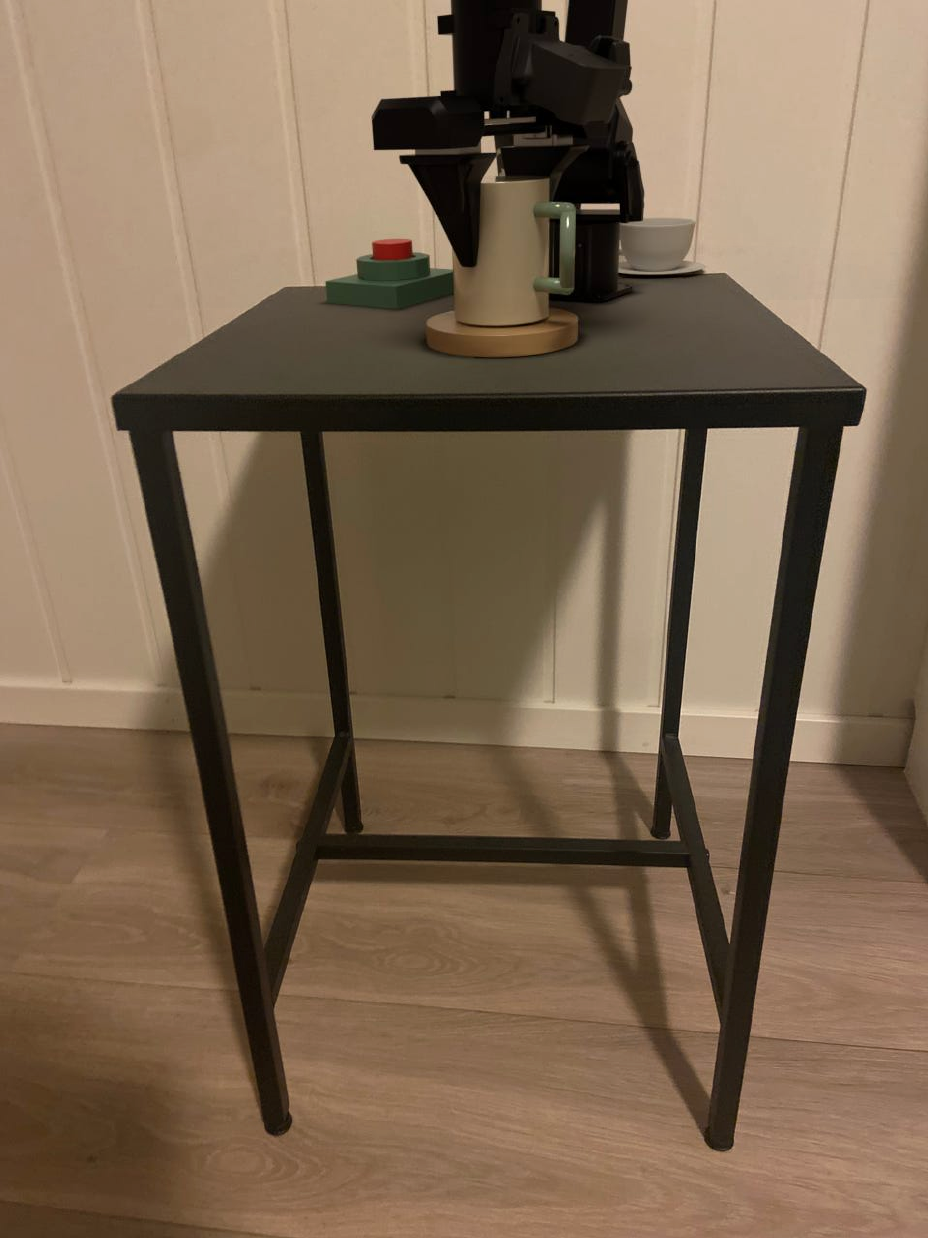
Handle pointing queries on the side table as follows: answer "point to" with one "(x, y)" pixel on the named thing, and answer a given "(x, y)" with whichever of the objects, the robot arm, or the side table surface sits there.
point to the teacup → (657, 246)
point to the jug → (515, 254)
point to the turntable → (502, 336)
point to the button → (392, 249)
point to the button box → (391, 283)
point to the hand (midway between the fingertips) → (500, 260)
